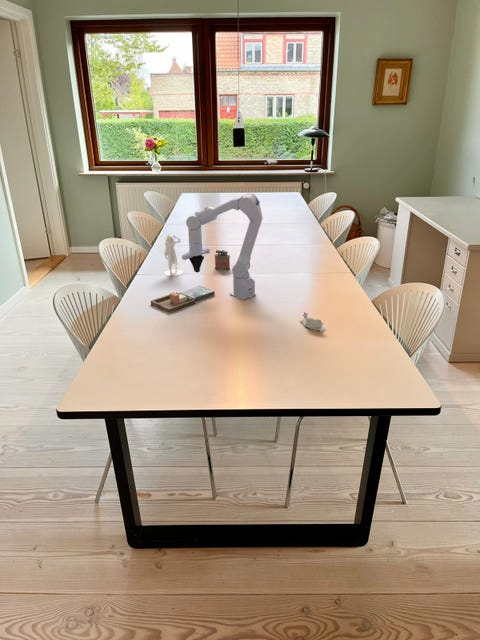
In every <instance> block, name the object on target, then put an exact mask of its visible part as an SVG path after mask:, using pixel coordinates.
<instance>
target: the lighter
mask: <svg viewBox="0 0 480 640" xmlns="http://www.w3.org/2000/svg"><path fill="white" fill-rule="evenodd" d="M230 257H231V255H230V254H228V251H227V250H224V249H222V250H221V249H216V250H215V254H214V269H215V270H216V271H230V270H231V267H230V266H231V265H230V263H231V262H230V259H231V258H230Z"/></svg>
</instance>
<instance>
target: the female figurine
mask: <svg viewBox="0 0 480 640" xmlns="http://www.w3.org/2000/svg"><path fill="white" fill-rule="evenodd" d="M175 239H176V240H177V241H176V240H175ZM181 241H182V240H181V238H179V237H177V236H176V235H173V236H172V235H171V234H168V235H167V236H166V240H165V242H164V245H165V250H164V249H162V250H163V251H162V252H163V254H164V257H165V259H166V261H167V262H168V270H166V271H164V273H163V274H164V275H165V276H168V277H177V276H181V275H183V274H184V271H183V270H182V269H178V267H177V266H178V258H177V253H176V250H175V245H176V244H179V243H181ZM173 265H174V269H172V268H173Z"/></svg>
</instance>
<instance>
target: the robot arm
mask: <svg viewBox="0 0 480 640" xmlns="http://www.w3.org/2000/svg"><path fill="white" fill-rule="evenodd" d="M231 210H235V211H239V210H240V211H241V212H242V214H244V215H245V216H246V217H247V218H248V220H249V223H248V226H247V230H246V233H245V237H244V239H243V243H242V246H241V249H240V253H239V255H238V257H237V260H236V263H235V264H234V265H233V266H232V269H231V272H232V275H233V276H232V278H233V279H232V280H233V281H232V283H233V285H232V286H233V291H232V292H229V293H228V294H229V295H230V296H233V297H235V298H238V299H241V300H246V299H249V298H252V297H254V296H256V295H257V293H255V292H256V291H255V289H256V288H255V287H256V281H255V280H254V279H253V278H252V277H251V275H250V274H251V273H250V272H249V269H250V268H251V263H250V262H251V257H252V253H253V250H254V246H255V244H256V241H257V238H258V234H259V230H260V228H261V225H262V223H263V213H262V209H261V204H260V200H259V199H258V197H257V196H256V194H254V193H252V192H249V193H246V194H245V195H239V196H236V197H235V198H232V199H229V200H228V201H227V202H226V201H225V202H224V203H222V204H220V205H218V206H216V207H212V206H205V207H204V208H203V209H202V210H200V211H195V212H194V213H193V214H191V215H190V216H188V218H186V220H185V221H186V222H185V224H186V225H185V226H187V228H188V231H187V232H188V249H189V250H188V252H186V253H184V254H182V255H181V259H182V260H183V261H187V260H188V259H189V261H190V263H191V265H192V267H193V272H194V273H200V272H201V267H202V263H203V261H204V259H205V256H204V255H206V254H210V253H211V249H210V248H207V247H205V248H203V237H202V235H203V234H202V232H203V231H202V226H205V225H207V224H209V223H211V222H213V221H215V220H217V218H218V216H219V215H221V214H223V213H226V212H228V211H231Z"/></svg>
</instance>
